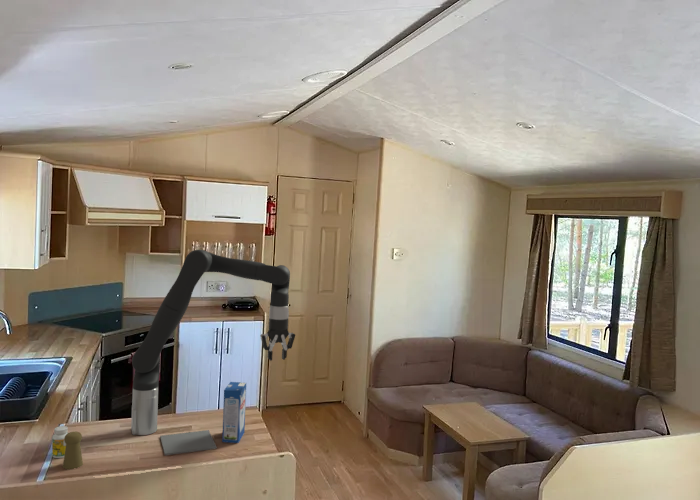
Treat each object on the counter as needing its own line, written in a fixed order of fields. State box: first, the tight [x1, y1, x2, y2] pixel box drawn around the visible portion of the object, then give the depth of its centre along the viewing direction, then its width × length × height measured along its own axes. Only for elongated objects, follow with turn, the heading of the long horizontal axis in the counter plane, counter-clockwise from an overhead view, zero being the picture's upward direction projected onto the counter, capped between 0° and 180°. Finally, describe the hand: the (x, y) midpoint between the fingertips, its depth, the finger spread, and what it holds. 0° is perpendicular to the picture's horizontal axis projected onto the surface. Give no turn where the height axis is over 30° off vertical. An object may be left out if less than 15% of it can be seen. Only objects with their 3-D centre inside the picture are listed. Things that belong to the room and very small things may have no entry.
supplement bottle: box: [51, 425, 69, 459], centre depth 189 cm, size 5×5×10 cm
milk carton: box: [221, 381, 247, 444], centre depth 211 cm, size 10×6×20 cm, turn 178°
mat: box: [159, 429, 218, 456], centre depth 205 cm, size 18×16×1 cm
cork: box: [62, 431, 84, 470], centre depth 183 cm, size 6×6×11 cm
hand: (276, 359), depth 216 cm, fingers open, 4 cm apart
